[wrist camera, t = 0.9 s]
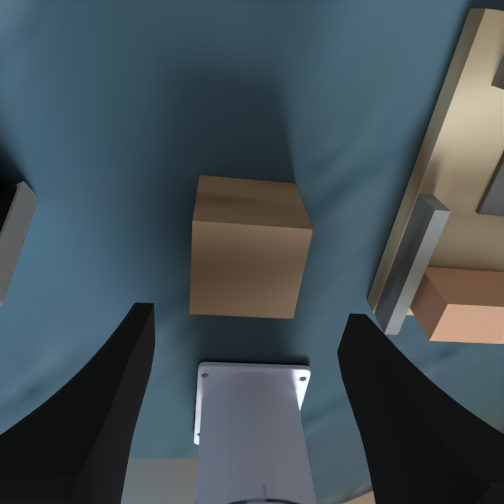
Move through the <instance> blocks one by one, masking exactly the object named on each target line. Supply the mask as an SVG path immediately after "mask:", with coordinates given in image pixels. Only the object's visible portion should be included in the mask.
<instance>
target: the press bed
mask: <svg viewBox="0 0 504 504" xmlns="http://www.w3.org/2000/svg"><path fill="white" fill-rule="evenodd" d="M427 267H434V268H449V269H464V270H479V271H495V272H504V11H500V10H493V9H486V8H470V10H469V12H468V15H467V18H466V21H465V24H464V27H463V29H462V32H461V35H460V38H459V41H458V44H457V46H456V49H455V52H454V55H453V58H452V61H451V63H450V66H449V69H448V72H447V75H446V78H445V80H444V83H443V86H442V89H441V92H440V95H439V97H438V100H437V103H436V106H435V109H434V112H433V114H432V117H431V120H430V123H429V126H428V129H427V131H426V134H425V137H424V140H423V143H422V146H421V148H420V151H419V154H418V157H417V160H416V163H415V165H414V168H413V171H412V174H411V177H410V180H409V182H408V185H407V188H406V191H405V194H404V197H403V199H402V202H401V205H400V208H399V211H398V214H397V216H396V219H395V222H394V225H393V228H392V231H391V233H390V236H389V239H388V242H387V245H386V248H385V250H384V253H383V256H382V259H381V262H380V265H379V267H378V270H377V273H376V276H375V279H374V282H373V284H372V287H371V290H370V293H369V296H368V299H367V302H368V304H369V306H370V308H371V310H372V313H374V314H375V316H376V318H377V320H378V322H379V324H380V326H381V328H382V330H383V332H384V334H393V335H398V332H399V330H400V328H401V325H402V323H403V321H404V318H405V316H406V315H414V314H413V312H412V311H411V309H410V305H411V302H412V300H413V298H414V295H415V293H416V291H417V289H418V286H419V284H420V282H421V279H422V277H423V275H424V272H425V270H426V268H427Z"/></svg>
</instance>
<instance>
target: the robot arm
mask: <svg viewBox="0 0 504 504" xmlns="http://www.w3.org/2000/svg"><path fill="white" fill-rule="evenodd" d="M154 348H155V323H154V303H137V302H136V303H135V304H134V305H133V306H132V308H131V309H130V311H129V312H128V314H127V315H126V317H125V318H124V319H123V321H122V322H121V323H120V325H119V326H118V328H117V329H116V330H115V331H114V333H113V334H112V335H111V336H110V338H109V339H108V340H107V341H106V343H105V344H104V345H103V346H102V347H101V348H100V350H99V351H98V352H97V353H96V354H95V355H94V356H93V357H92V358H91V359H90V361H89V362H88V363H87V364H86V365H85V366H84V367H83V368H82V369H81V370H80V371H79V372H78V373H77V374H76V375H75V376H74V377H73V378H72V379H71V380H70V381H68V382H67V383H66V384H65V385H64V386H63V387H62V388H61V389H60V390H58V391H57V392H56V393H55V394H54V395H53V396H51V397H50V398H49V399H48V400H47V401H46V402H44V403H43V404H42V405H41V406H39V407H38V408H37V409H35V410H34V411H33V412H31V413H30V414H29V415H27V416H26V417H25V418H23V419H22V420H21V421H19V422H18V423H16V424H15V425H14V426H12V427H11V428H10V429H8V430H7V431H5V432H4V433H2V434H1V435H0V504H121V497H122V492H123V486H124V480H125V475H126V469H127V464H128V458H129V453H130V447H131V442H132V438H133V433H134V429H135V426H136V422H137V419H138V415H139V412H140V408H141V405H142V401H143V397H144V394H145V390H146V387H147V383H148V380H149V376H150V372H151V367H152V361H153V355H154ZM337 354H338V360H339V365H340V370H341V375H342V379H343V382H344V386H345V389H346V392H347V395H348V398H349V401H350V404H351V407H352V410H353V413H354V416H355V419H356V422H357V425H358V428H359V431H360V435H361V438H362V442H363V445H364V449H365V454H366V458H367V463H368V467H369V472H370V477H371V482H372V487H373V492H374V497H375V503H376V504H504V434H503V433H501V432H499V431H498V430H496V429H495V428H493V427H492V426H490V425H489V424H487V423H486V422H484V421H483V420H481V419H480V418H478V417H477V416H475V415H474V414H473V413H471V412H470V411H468V410H467V409H466V408H464V407H463V406H461V405H460V404H459V403H457V402H456V401H455V400H454V399H452V398H451V397H450V396H449V395H447V394H446V393H445V392H444V391H442V390H441V389H440V388H439V387H438V386H436V385H435V384H434V383H433V382H432V381H431V380H429V379H428V378H427V377H426V376H425V375H424V374H423V373H422V372H421V371H420V370H419V369H418V368H417V367H415V366H414V365H413V364H412V363H411V362H410V361H409V360H408V359H407V358H406V357H405V356H404V355H403V354H402V353H401V352H400V351H399V350H398V348H397V347H396V346H395V345H394V344H393V343H392V342H391V341H390V340H389V339H388V338H387V337H386V336H385V335H384V333H383V332H382V331H381V330H380V329H379V328H378V327H377V326H376V325H375V324H374V323H373V321H372V320H371V319H370V318H369V317H368V316H367V315H366V314H351V313H350V315H349V318H348V321H347V324H346V327H345V330H344V333H343V336H342V339H341V342H340V345H339V348H338V351H337ZM204 373H206V374H204ZM310 375H311V371H310V368H309V367H308V366H304V365H277V364H249V363H221V362H202V363H200V364H199V366H198V379H197V396H196V413H195V430H194V443H195V444H197V445H199V450H198V466H197V482H196V498H195V504H316V499H315V494H314V488H313V483H312V477H311V471H310V466H309V460H308V455H307V449H306V443H305V438H304V432H303V427H302V421H301V415H300V409H301V406H302V402H303V399H304V396H305V392H306V389H307V385H308V382H309V378H310Z"/></svg>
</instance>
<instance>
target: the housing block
mask: <svg viewBox="0 0 504 504" xmlns="http://www.w3.org/2000/svg"><path fill="white" fill-rule="evenodd" d="M312 234H313V227H312V225H311V222H310V219H309V217H308V214H307V212H306V209H305V206H304V204H303V201H302V199H301V196H300V193H299V191H298V188H297V186H296V183H286V182H274V181H263V180H251V179H240V178H228V177H217V176H205V175H200V176H199V182H198V189H197V195H196V202H195V208H194V214H193V221H192V250H191V279H190V307H189V314H200V315H221V316H242V317H263V318H284V319H293V317H294V313H295V308H296V304H297V299H298V295H299V291H300V286H301V282H302V277H303V273H304V269H305V264H306V260H307V255H308V251H309V247H310V242H311V238H312Z"/></svg>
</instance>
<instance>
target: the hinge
mask: <svg viewBox="0 0 504 504" xmlns="http://www.w3.org/2000/svg"><path fill="white" fill-rule="evenodd" d="M0 178H1V174H0ZM37 201H38V199H37V197H36V195H35V194H34V192H33V191H32V190H31V189H30V187H29V186H28V185H27V184H26V183H25V182H24V181H22V182H20V183H18V184H16V185H14V184H13V183H12V182H8V183H7V184H5V185H3V186H1V187H0V308H1V307H2V304H3V302H4V299H5V296H6V293H7V290H8V287H9V284H10V281H11V278H12V275H13V272H14V269H15V266H16V263H17V260H18V257H19V255H20V252H21V249H22V246H23V243H24V240H25V237H26V234H27V231H28V228H29V225H30V222H31V219H32V216H33V213H34V210H35V207H36V204H37Z"/></svg>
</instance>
